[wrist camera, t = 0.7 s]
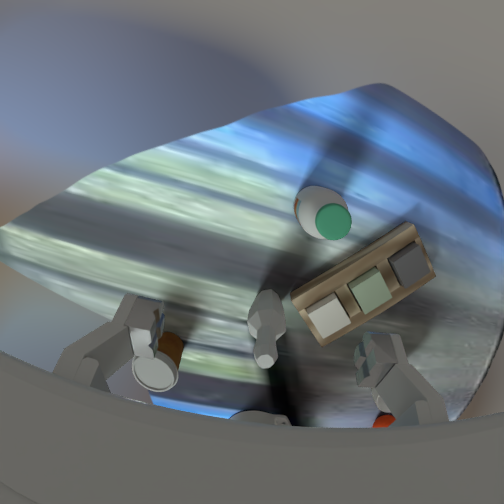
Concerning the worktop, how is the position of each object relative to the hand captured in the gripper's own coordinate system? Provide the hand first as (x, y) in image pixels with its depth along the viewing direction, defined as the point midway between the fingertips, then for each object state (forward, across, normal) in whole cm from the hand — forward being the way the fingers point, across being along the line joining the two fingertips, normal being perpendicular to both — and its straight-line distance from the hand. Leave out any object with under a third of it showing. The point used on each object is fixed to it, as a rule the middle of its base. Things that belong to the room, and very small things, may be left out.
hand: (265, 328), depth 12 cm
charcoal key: (+38, +30, -21) cm, 53 cm away
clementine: (+25, +42, -61) cm, 78 cm away
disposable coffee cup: (+33, -14, -48) cm, 60 cm away
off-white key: (+35, +16, -32) cm, 50 cm away
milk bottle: (+44, +10, -16) cm, 48 cm away
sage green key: (+37, +23, -26) cm, 51 cm away
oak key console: (+39, +23, -27) cm, 53 cm away
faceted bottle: (+37, +5, -34) cm, 51 cm away
